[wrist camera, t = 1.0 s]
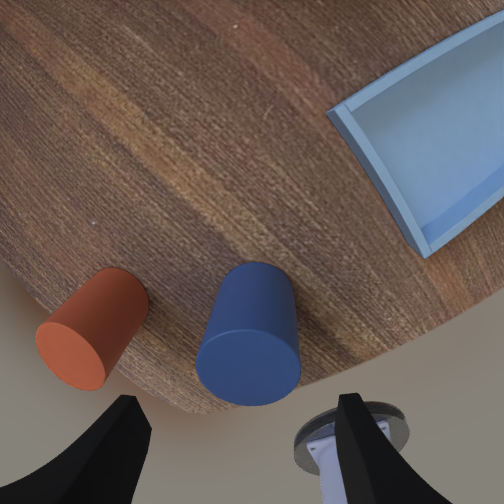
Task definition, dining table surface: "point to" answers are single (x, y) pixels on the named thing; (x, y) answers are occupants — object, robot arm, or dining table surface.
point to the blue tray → (434, 134)
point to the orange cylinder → (93, 328)
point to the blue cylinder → (251, 338)
